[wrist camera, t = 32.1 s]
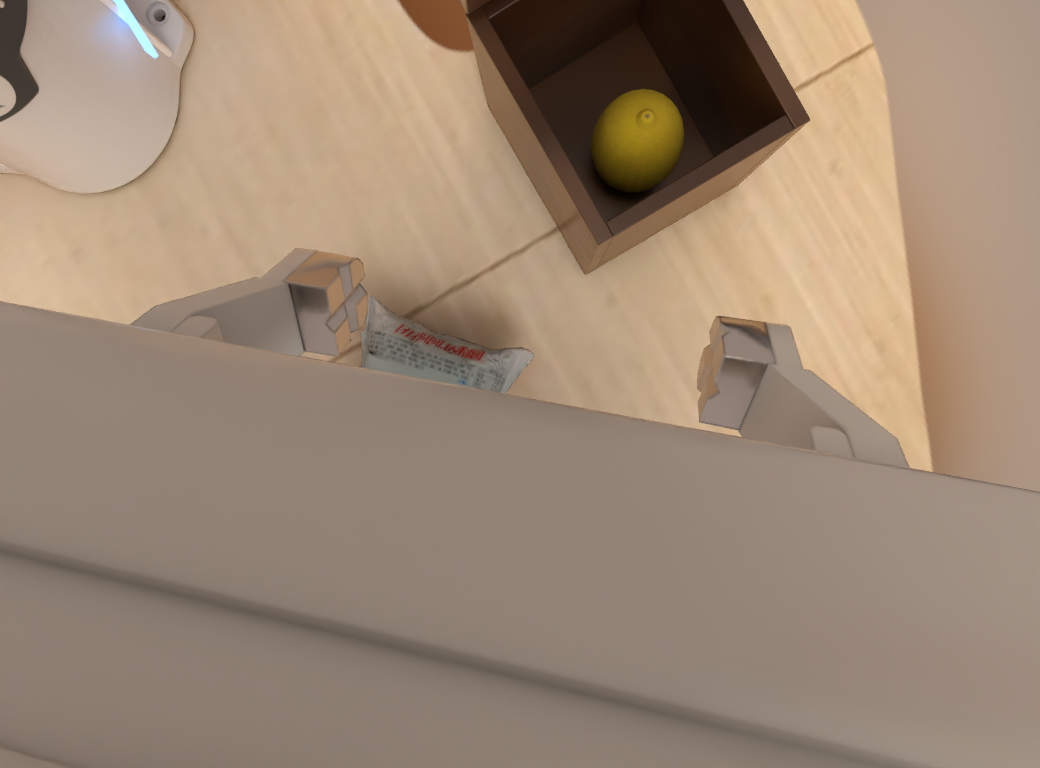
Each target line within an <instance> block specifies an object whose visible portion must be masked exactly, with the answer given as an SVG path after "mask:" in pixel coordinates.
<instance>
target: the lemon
mask: <svg viewBox="0 0 1040 768" xmlns="http://www.w3.org/2000/svg"><path fill="white" fill-rule="evenodd" d="M683 141H684V128H683V122H682V117H681V115H680V113H679V111H678V108H677V107H676V106H675V105H674V103H673V102H672V101H671V100H670V99H669V98H668V97H666V96H665V95H664V94H662V93H659V92H657V91H654V90H648V89H639V90H632V91H630V92H627V93H625V94H622V95H621V96H619V97H618V98H616V99H615V100H614V101H612V102H611V103H610V104H609V105H608V106H607V108H606V109H605V110H604V111H603V113H602V114H601V115H600V117H599V119H598V121H597V123H596V126H595V128H594V131H593V136H592V141H591V152H592V159H593V162H594V166H595V169H596V170H597V172H598V174H599V175H600V177H601V178H602V179H603V180H604V181H605V182H606V183H607V184H608V185H609V186H611V187H613V188H615V189H616V190H619V191H623V192H627V193H634V192H642V191H645V190H649V189H651V188H652V187H654V186H656V185H658V184H660V183H661V182H662V181H663V180H664V179H665V178H666V177H667V176H668V175H669V174H670V173H671V172H672V170H673V169H674V167H675V165H676V164H677V162H678V160H679V157H680V154H681V151H682V148H683Z"/></svg>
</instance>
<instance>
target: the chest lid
mask: <svg viewBox="0 0 1040 768" xmlns="http://www.w3.org/2000/svg"><path fill="white" fill-rule="evenodd" d="M488 1H490V0H460V2H461V3H462V5H463V7H464V9H465V11H466V13H467V14H469V13H471V12H472V11H474V10H476V9H477V8H479V7H480V6H482V5H483V4H485V3H487V2H488Z"/></svg>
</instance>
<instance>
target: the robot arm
mask: <svg viewBox="0 0 1040 768" xmlns="http://www.w3.org/2000/svg"><path fill="white" fill-rule="evenodd" d="M165 15H166V16H165ZM163 16H165V19H164V20H163V21H161V19H162V17H163ZM193 38H194V30H193V27H192V25H191V23H190V21H189V20H188V19H187V18H186V17H185V16H184V14H183V13H182V12H181V11H180V10H179V9H178V8H177V6H176V5H175V4H174V3H173V2H172V1H171V0H0V173H13V174H25V175H28V176H30V177H33V178H35V179H37V180H39V181H41V182H43V183H45V184H47V185H49V186H51V187H54V188H56V189H59V190H63V191H67V192H72V193H82V194H89V193H99V192H105V191H109V190H112V189H115V188H118V187H120V186H123V185H125V184H127V183H129V182H130V181H132V180H134V179H135V178H137V177H138V176H139V175H141V174H142V173H143V172H144V171H146V170H147V169H148V168H149V167H150V166H151V165H152V164H153V162H154V161H155V160H156V159H157V158H158V156H159V155H160V154H161V152H162V151H163V149H164V147H165V146H166V144H167V142H168V140H169V138H170V136H171V133H172V131H173V128H174V125H175V122H176V118H177V113H178V107H179V92H180V75H181V69H182V67H183V65H184V63H185V60H186V58H187V56H188V54H189V51H190V48H191V46H192V42H193ZM364 277H365V273H364V267H363V263H362V262H361V260H360V259H359V258H355V257H349V256H344V255H338V254H333V253H327V252H321V251H317V250H310V249H303V248H295V249H294V250H293V251H292V252H291V253H289V254H288V255H287V256H286V257H285V258H284V259H283V260H281V261H280V262H279V263H278V264H277V265H276V266H274V267H273V268H272V269H271V270H270V271H269V272H268V273H266V274H265V275H264V276H263V277H262V278H255V277H254V278H251V279H247V280H244V281H240V282H237V283H233V284H230V285H226V286H223V287H219V288H216V289H212V290H209V291H206V292H202V293H199V294H195V295H192V296H188V297H185V298H181V299H178V300H174V301H171V302H167V303H164V304H160V305H157V306H154V307H153V308H151V309H150V310H149V311H147V312H146V313H145V314H143V315H142V316H141V317H139V318H138V319H137V320H135V321H134V322H133V323H131V324H130V325H127V324H121V323H116V322H110V321H105V320H100V319H94V318H89V317H83V316H78V315H72V314H67V313H61V312H56V311H51V310H45V309H40V308H34V307H29V306H23V305H18V304H13V303H7V302H2V301H0V768H1040V492H1037V491H1031V490H1026V489H1021V488H1015V487H1010V486H1005V485H999V484H994V483H988V482H983V481H977V480H972V479H967V478H961V477H955V476H950V475H945V474H939V473H934V472H928V471H923V470H918V469H912V468H910V467H909V465H908V462H907V460H906V458H905V455H904V453H903V451H902V448H901V446H900V444H899V441H898V439H897V438H896V437H895V436H893V435H892V434H891V433H889V432H888V431H887V430H886V429H884V428H883V427H882V426H881V425H879V424H878V423H877V422H875V421H874V420H873V419H872V418H870V417H869V416H868V415H867V414H865V413H864V412H863V411H861V410H860V409H859V408H858V407H856V406H855V405H854V404H853V403H851V402H850V401H849V400H847V399H846V398H845V397H844V396H842V395H841V394H840V393H839V392H837V391H836V390H835V389H833V388H832V387H831V386H830V385H828V384H827V383H826V382H824V381H823V380H822V379H821V378H819V377H818V376H817V375H816V374H814V373H813V372H812V371H810V370H805V369H803V367H802V363H801V360H800V357H799V353H798V350H797V347H796V343H795V340H794V337H793V333H792V330H791V327H790V326H788V325H784V324H775V323H767V322H760V321H753V320H746V319H738V318H731V317H723V316H716V317H715V319H714V321H713V324H712V327H711V329H710V345H708V346H707V347H706V348H704V350H703V353H702V357H701V360H700V364H699V369H698V376H697V389H698V390H699V391H700V392H701V395H700V398H699V401H698V409H699V422H701V423H706V424H711V425H715V426H720V427H725V428H730V429H735V430H739V433H740V434H741V436H742V437H738V436H732V435H727V434H721V433H716V432H710V431H705V430H700V429H694V428H689V427H683V426H678V425H672V424H667V423H661V422H656V421H650V420H645V419H639V418H634V417H629V416H623V415H618V414H612V413H607V412H601V411H596V410H590V409H585V408H579V407H574V406H568V405H563V404H558V403H552V402H547V401H541V400H536V399H530V398H525V397H519V396H514V395H508V394H503V393H498V392H492V391H487V390H481V389H476V388H470V387H465V386H459V385H454V384H448V383H443V382H438V381H432V380H427V379H421V378H416V377H410V376H405V375H399V374H394V373H388V372H383V371H378V370H372V369H367V368H361V367H356V366H350V365H345V364H339V363H334V362H328V361H323V360H318V359H312V358H307V357H301V356H300V355H302V354H303V353H304V351H306V352H312V353H319V354H325V355H332V356H338V357H339V356H340V354H341V353H342V352H343V350H344V349H345V348H346V346H347V345H348V344H349V343H350V341H351V335H350V333H352V332H355V331H357V330H359V329H360V328H361V327H362V325H363V324H364V322H365V319H366V316H367V313H368V294H367V292H366V290H365V289H364V288H363V286H362V285H361V284H360V282H361V281H362V280H363V278H364Z"/></svg>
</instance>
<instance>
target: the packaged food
mask: <svg viewBox="0 0 1040 768" xmlns="http://www.w3.org/2000/svg"><path fill="white" fill-rule="evenodd" d="M365 335H366V336H365ZM361 341H362V363H361V368H367V369H372V370H378V371H383V372H388V373H394V374H399V375H405V376H410V377H416V378H421V379H427V380H432V381H438V382H443V383H448V384H454V385H459V386H465V387H470V388H476V389H481V390H487V391H492V392H498V393H503V394H506V392H507V390H508V389H509V388H510V386H511V385H512V383H513V382H514V381H515V380H516V378H517V377H518V376H519V375H520V373H521V371H522V370H523V369H524V368H525V367H527V366H528V363H529V362H530V361H532V359H533V357H534V354H533V353H532V352H531V351H529V350H528V349H525V348H523V347H519V348H503V349H499V350H490V349H488V348H486V347H483V346H480V345H477V344H475V343H472V342H469V341H466V340H464V339H460V338H457V337H454V336H450V335H444V334H437V333H432V332H431V331H429V330H428V329H427V328H426V327H425V326H424V325H422V324H419V323H417V322H414V321H412V320H409V319H406V318H404V317H401V316H398V315H396V314H395V313H394V312H392V311H390V310H389V309H388V308H386V307H385V306H384V305H383V304H382V303H381V302H380V301H378V300H377V299H376V298H375V297H373V296H369V298H368V313H367V318H366V330H365V332H364V331H362V332H361Z"/></svg>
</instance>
